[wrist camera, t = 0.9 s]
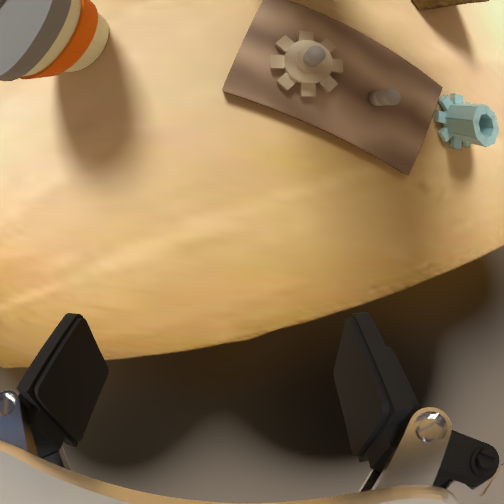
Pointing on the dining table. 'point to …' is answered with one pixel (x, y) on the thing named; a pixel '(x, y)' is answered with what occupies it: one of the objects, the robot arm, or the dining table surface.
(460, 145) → the loose cog
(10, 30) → the reusable coffee cup
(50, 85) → the dining table surface
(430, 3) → the rock
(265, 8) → the gear board
